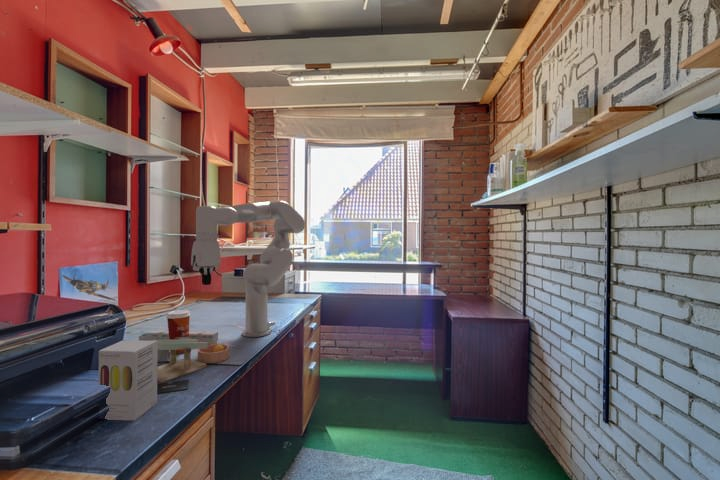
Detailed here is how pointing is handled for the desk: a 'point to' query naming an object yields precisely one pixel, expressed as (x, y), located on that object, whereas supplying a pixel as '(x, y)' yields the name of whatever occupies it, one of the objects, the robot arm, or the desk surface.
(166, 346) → the lever tray
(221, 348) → the ball
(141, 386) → the supplement box
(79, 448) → the desk surface
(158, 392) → the solid state drive
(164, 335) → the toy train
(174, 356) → the stand
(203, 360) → the bowl
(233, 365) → the desk surface
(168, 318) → the coffee cup
